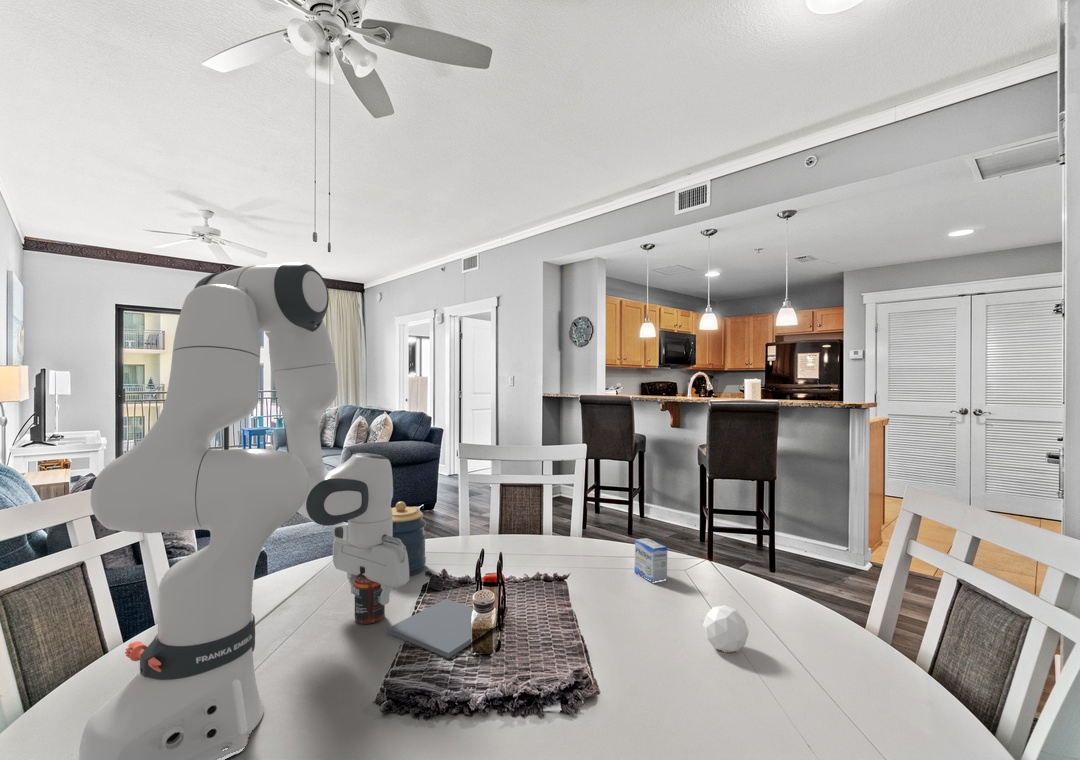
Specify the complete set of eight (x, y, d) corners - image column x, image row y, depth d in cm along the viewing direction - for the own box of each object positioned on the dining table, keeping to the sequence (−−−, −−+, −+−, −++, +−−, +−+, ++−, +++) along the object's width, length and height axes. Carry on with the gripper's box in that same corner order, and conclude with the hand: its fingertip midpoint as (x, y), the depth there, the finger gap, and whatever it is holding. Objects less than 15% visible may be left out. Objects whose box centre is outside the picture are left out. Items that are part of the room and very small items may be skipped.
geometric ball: (730, 659, 94) (753, 622, 95) (735, 665, 87) (759, 625, 88) (694, 631, 97) (716, 595, 98) (695, 635, 90) (719, 596, 91)
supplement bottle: (389, 612, 106) (389, 559, 106) (377, 626, 100) (378, 569, 100) (362, 611, 107) (362, 557, 107) (348, 624, 101) (349, 568, 101)
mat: (448, 658, 89) (448, 652, 89) (387, 633, 97) (387, 628, 97) (503, 622, 102) (503, 617, 102) (445, 603, 111) (446, 598, 111)
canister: (374, 563, 135) (374, 497, 135) (423, 558, 139) (424, 494, 139) (373, 581, 123) (374, 509, 123) (427, 575, 126) (428, 505, 126)
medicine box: (633, 573, 129) (634, 539, 129) (648, 570, 131) (648, 537, 131) (653, 584, 122) (653, 548, 122) (667, 581, 124) (667, 546, 124)
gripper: (417, 536, 101) (416, 605, 100) (352, 520, 112) (352, 582, 112) (392, 544, 95) (391, 617, 95) (327, 526, 106) (326, 592, 106)
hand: (369, 598), depth 104 cm, fingers open, 7 cm apart
